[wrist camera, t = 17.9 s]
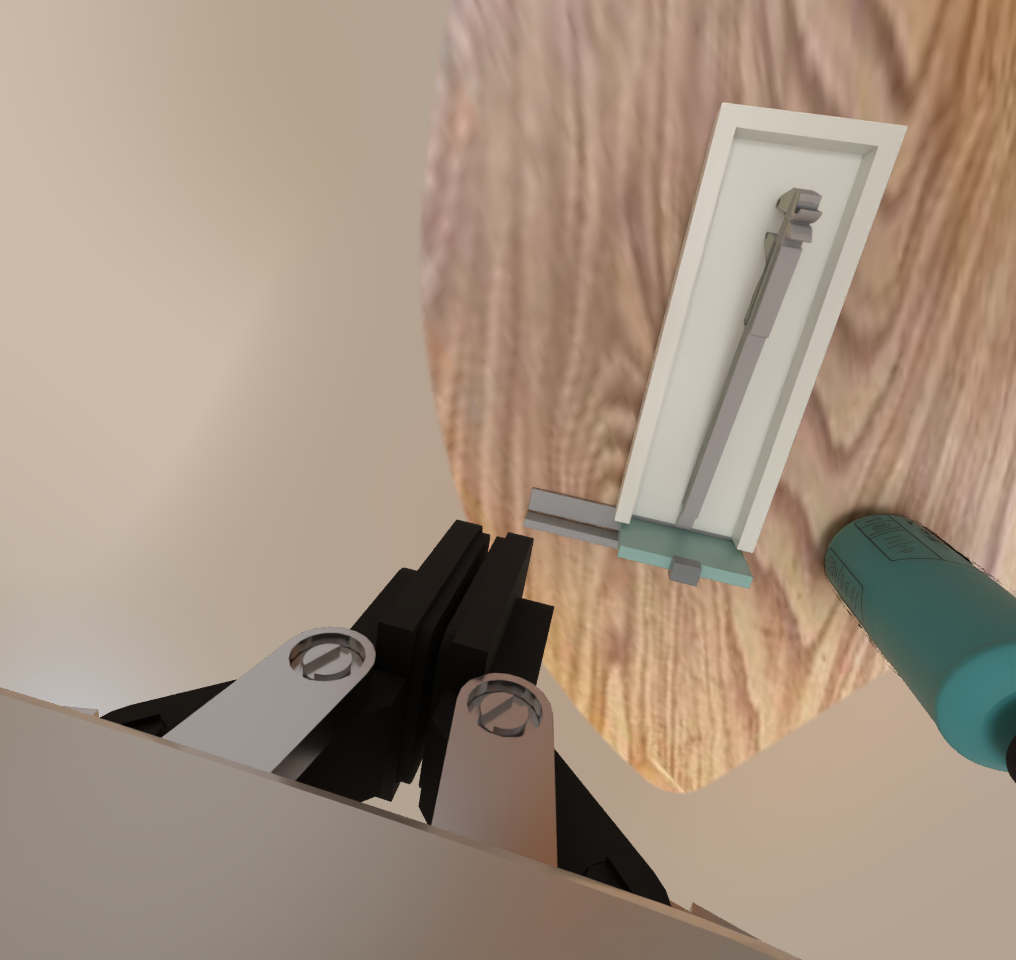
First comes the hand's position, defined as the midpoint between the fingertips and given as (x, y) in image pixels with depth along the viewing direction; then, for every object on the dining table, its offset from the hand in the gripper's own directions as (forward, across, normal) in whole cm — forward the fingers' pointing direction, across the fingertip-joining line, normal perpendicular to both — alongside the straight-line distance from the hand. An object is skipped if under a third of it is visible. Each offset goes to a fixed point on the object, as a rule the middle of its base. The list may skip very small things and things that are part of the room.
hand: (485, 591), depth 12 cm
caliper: (+27, -9, -2) cm, 28 cm away
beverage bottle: (+27, -20, +6) cm, 35 cm away
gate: (+27, -8, +8) cm, 29 cm away
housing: (+27, -5, -3) cm, 28 cm away
